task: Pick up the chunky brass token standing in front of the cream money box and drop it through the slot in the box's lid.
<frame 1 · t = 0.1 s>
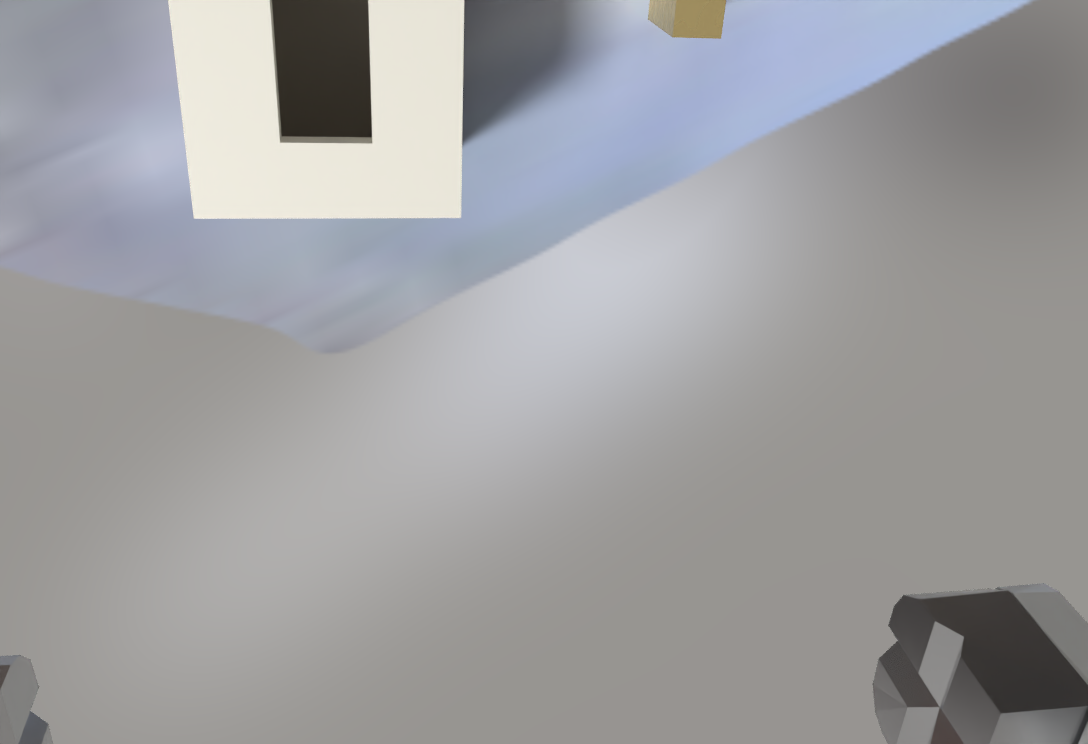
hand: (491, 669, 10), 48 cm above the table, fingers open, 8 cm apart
money box: (329, 20, 52), on the table
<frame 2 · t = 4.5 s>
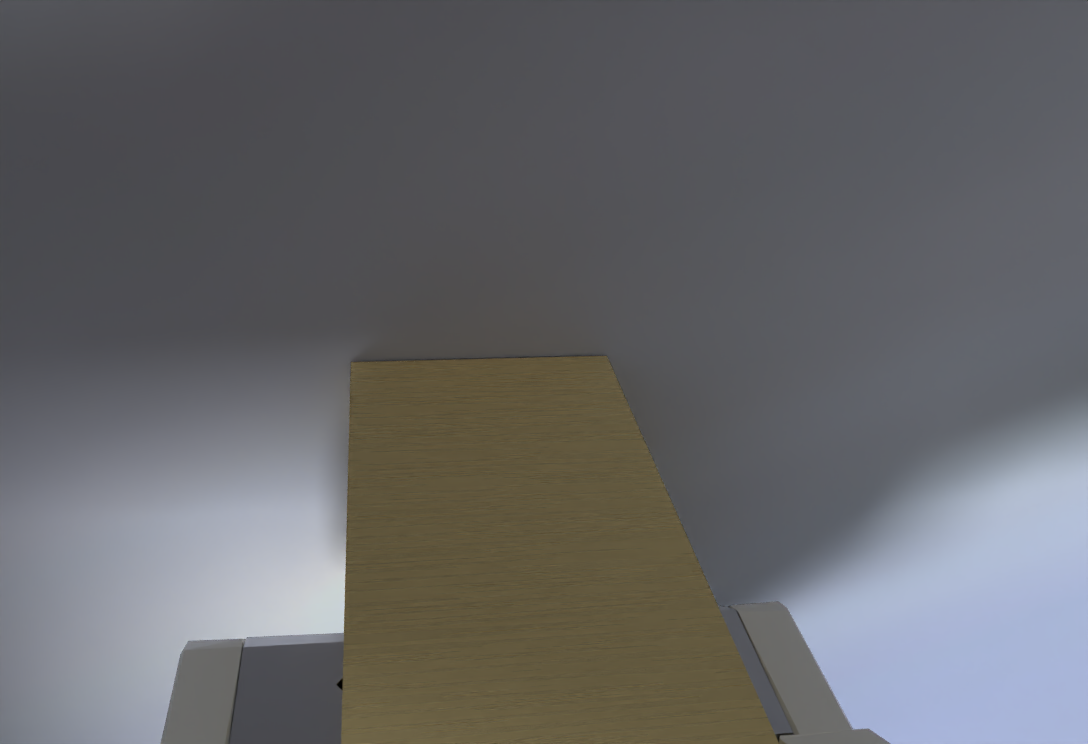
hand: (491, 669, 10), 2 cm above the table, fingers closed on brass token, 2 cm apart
brass token: (475, 560, 11), on the table, touching gripper
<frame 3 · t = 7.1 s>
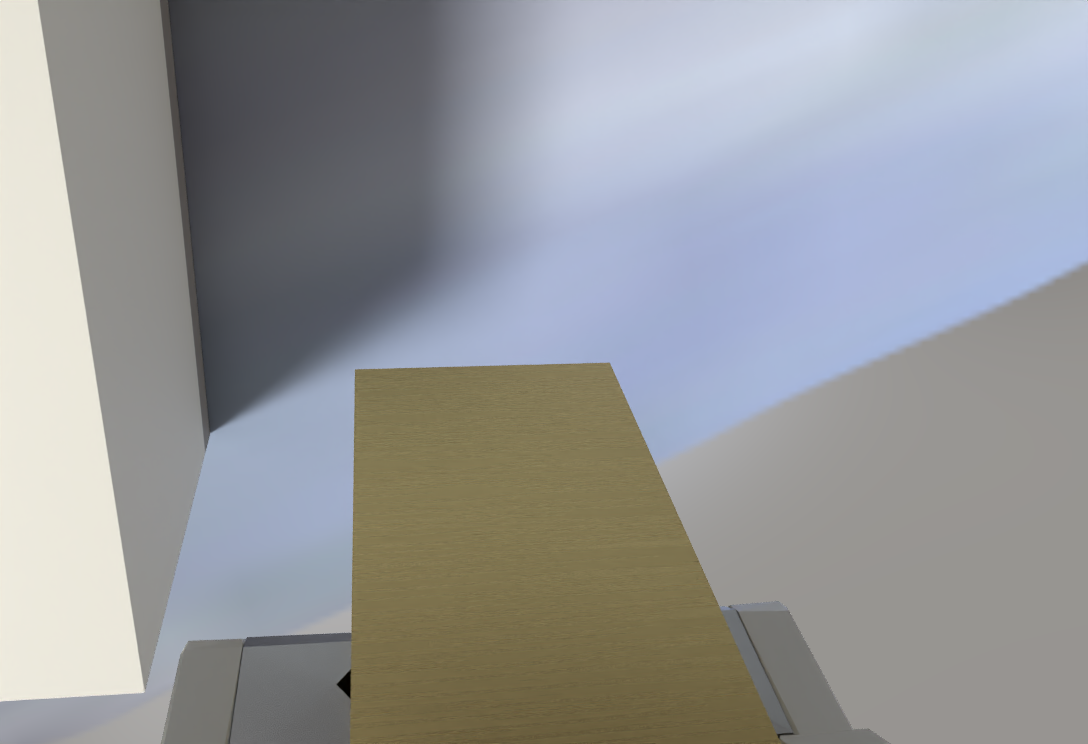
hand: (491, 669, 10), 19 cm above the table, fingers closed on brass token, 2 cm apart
brass token: (479, 566, 11), point 17 cm above the table, touching gripper
when the fingers open (13 cm above the table, at t = 9.5 s): brass token drops 10 cm, resting on money box.
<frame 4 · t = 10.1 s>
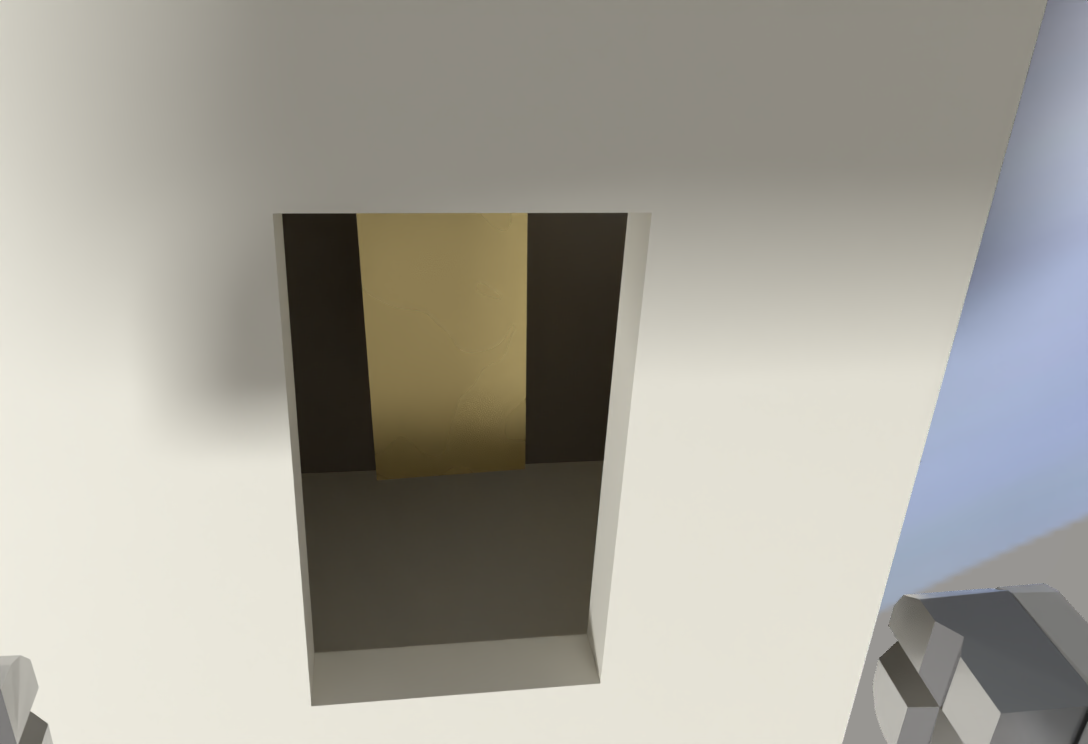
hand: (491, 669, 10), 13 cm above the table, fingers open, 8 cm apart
brass token: (429, 229, 20), point 1 cm above the table, touching money box
money box: (421, 208, 21), on the table
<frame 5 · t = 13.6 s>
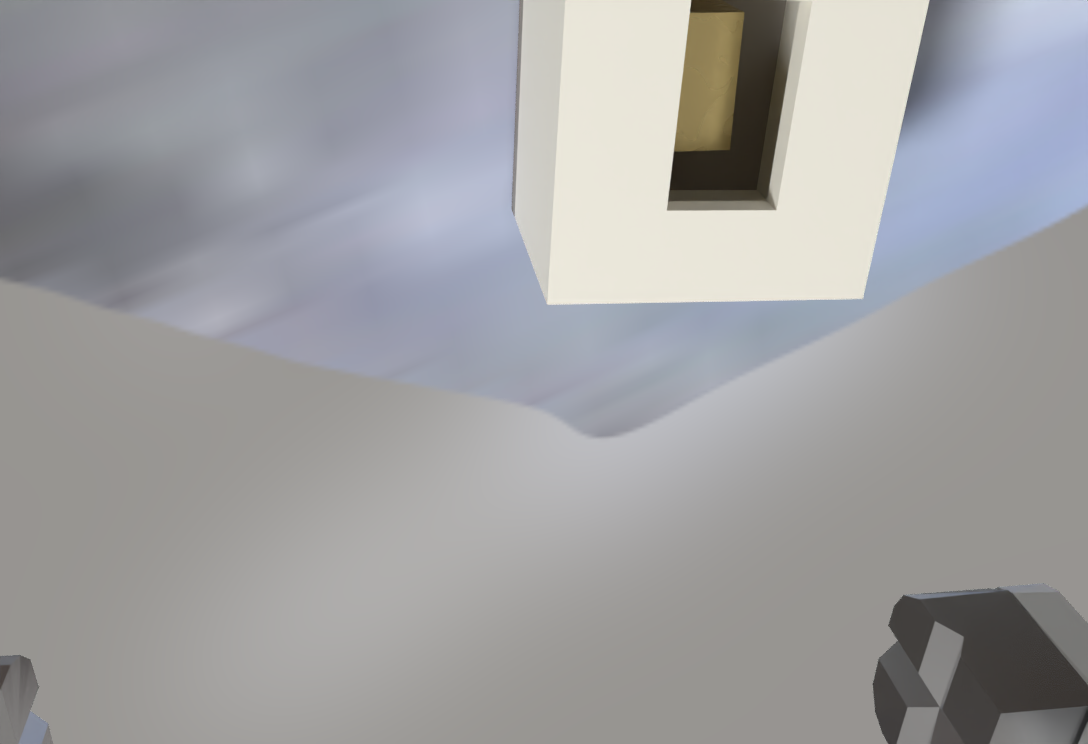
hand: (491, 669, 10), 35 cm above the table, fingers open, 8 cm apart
brass token: (668, 55, 41), point 1 cm above the table, touching money box
money box: (660, 48, 42), on the table
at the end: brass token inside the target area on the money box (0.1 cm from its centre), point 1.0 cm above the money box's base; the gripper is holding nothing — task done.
